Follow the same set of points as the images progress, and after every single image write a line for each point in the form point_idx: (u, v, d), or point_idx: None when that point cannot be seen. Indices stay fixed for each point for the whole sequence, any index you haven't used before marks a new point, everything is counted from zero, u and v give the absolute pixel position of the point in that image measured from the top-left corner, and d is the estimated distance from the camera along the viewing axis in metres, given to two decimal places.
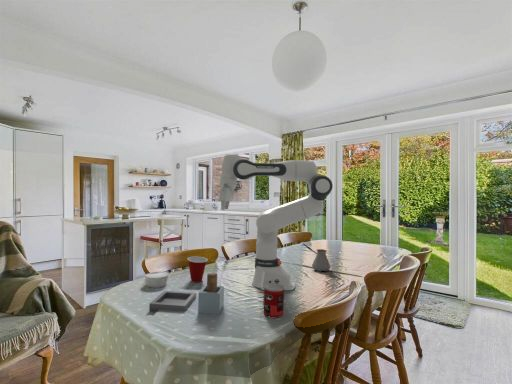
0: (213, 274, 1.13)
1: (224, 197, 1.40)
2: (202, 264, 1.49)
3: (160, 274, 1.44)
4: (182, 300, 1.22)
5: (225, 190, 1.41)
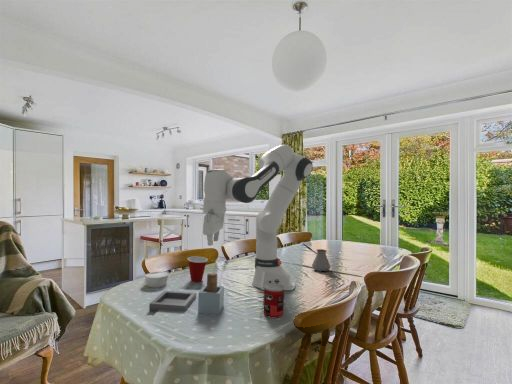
0: (213, 274, 1.13)
1: (210, 229, 1.03)
2: (202, 264, 1.49)
3: (160, 274, 1.44)
4: (182, 300, 1.22)
5: (210, 219, 1.04)
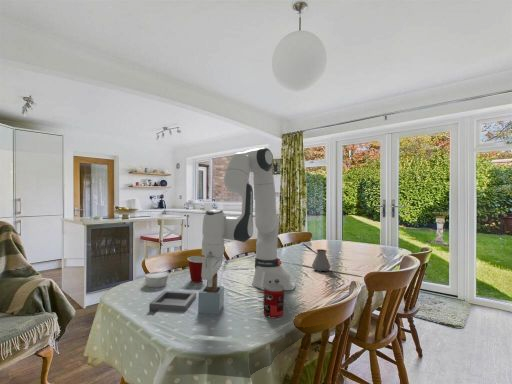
0: None
1: (208, 274, 1.03)
2: None
3: (160, 274, 1.44)
4: (182, 300, 1.22)
5: (209, 264, 1.04)
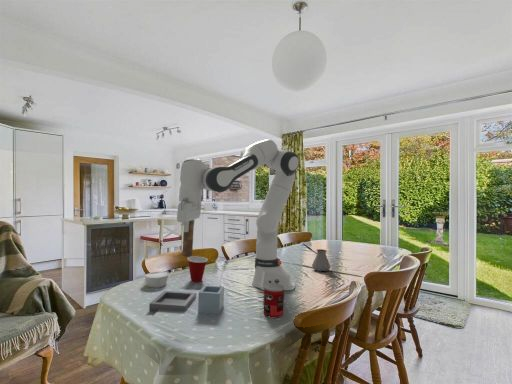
0: (190, 221, 1.17)
1: (184, 216, 1.06)
2: (202, 264, 1.49)
3: (160, 274, 1.44)
4: (182, 300, 1.22)
5: (184, 207, 1.07)
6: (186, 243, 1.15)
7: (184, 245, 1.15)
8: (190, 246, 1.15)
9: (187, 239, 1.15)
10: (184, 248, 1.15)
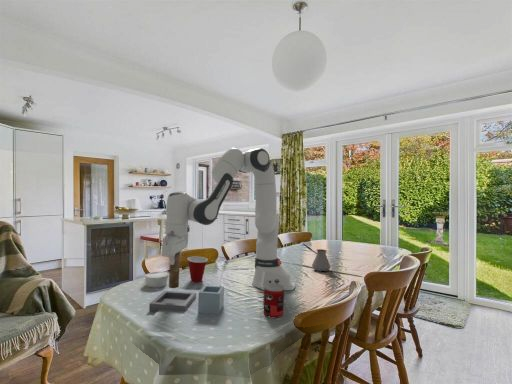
0: (176, 253, 1.19)
1: (168, 251, 1.09)
2: (202, 264, 1.49)
3: (160, 274, 1.44)
4: (182, 300, 1.22)
5: (169, 242, 1.09)
6: (172, 275, 1.17)
7: (170, 277, 1.17)
8: (176, 278, 1.18)
9: (173, 271, 1.17)
10: (170, 280, 1.17)
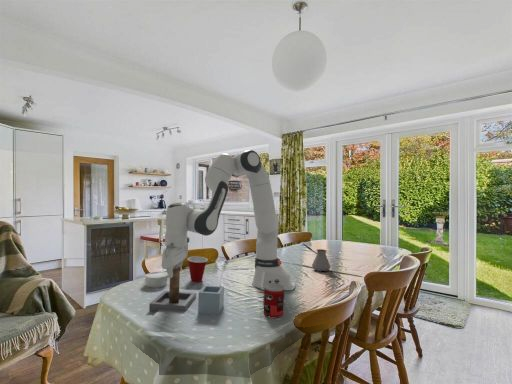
0: (176, 269, 1.19)
1: (168, 263, 1.09)
2: (202, 264, 1.49)
3: (160, 274, 1.44)
4: (182, 300, 1.22)
5: (169, 254, 1.09)
6: (172, 291, 1.17)
7: (170, 293, 1.17)
8: (176, 294, 1.18)
9: (173, 287, 1.17)
10: (170, 296, 1.17)
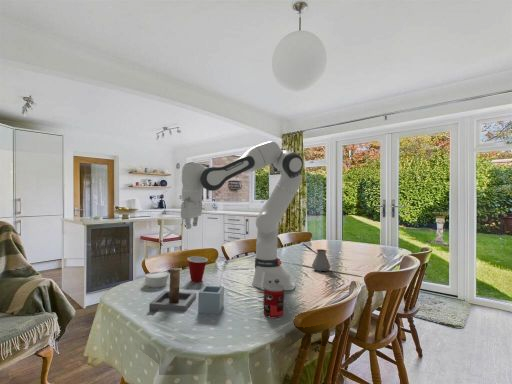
0: (176, 269, 1.19)
1: (187, 214, 1.19)
2: (202, 264, 1.49)
3: (160, 274, 1.44)
4: (182, 300, 1.22)
5: (187, 205, 1.20)
6: (172, 291, 1.17)
7: (170, 293, 1.17)
8: (176, 294, 1.18)
9: (173, 287, 1.17)
10: (170, 296, 1.17)
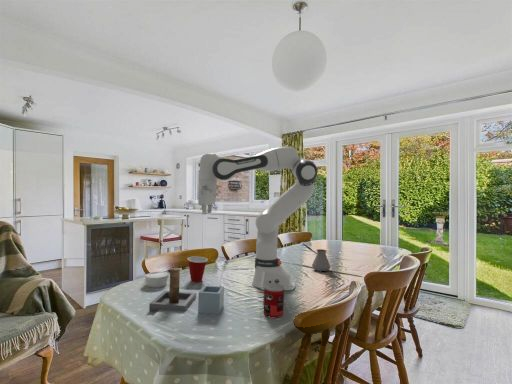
0: (176, 269, 1.19)
1: (204, 200, 1.31)
2: (202, 264, 1.49)
3: (160, 274, 1.44)
4: (182, 300, 1.22)
5: (204, 193, 1.32)
6: (172, 291, 1.17)
7: (170, 293, 1.17)
8: (176, 294, 1.18)
9: (173, 287, 1.17)
10: (170, 296, 1.17)
